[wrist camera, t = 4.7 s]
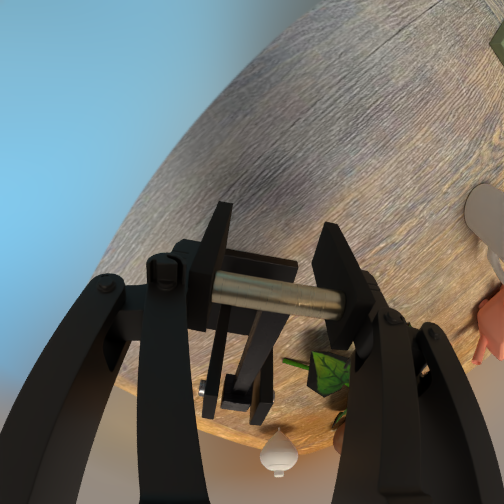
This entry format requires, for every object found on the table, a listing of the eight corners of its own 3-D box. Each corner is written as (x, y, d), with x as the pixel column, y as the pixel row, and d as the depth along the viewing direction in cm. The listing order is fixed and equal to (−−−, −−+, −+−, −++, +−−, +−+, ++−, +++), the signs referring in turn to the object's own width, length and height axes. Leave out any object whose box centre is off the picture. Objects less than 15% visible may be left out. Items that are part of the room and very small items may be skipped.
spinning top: (266, 434, 53) (265, 480, 42) (256, 422, 49) (254, 473, 39) (299, 430, 51) (301, 477, 41) (293, 418, 48) (294, 471, 37)
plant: (397, 281, 30) (422, 325, 23) (423, 375, 41) (435, 407, 34) (265, 343, 35) (265, 391, 29) (336, 412, 46) (341, 445, 40)
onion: (348, 404, 50) (358, 431, 40) (378, 416, 49) (390, 442, 39) (321, 432, 51) (326, 461, 41) (352, 443, 50) (359, 470, 40)
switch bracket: (211, 246, 28) (174, 363, 16) (297, 261, 29) (315, 382, 16) (203, 321, 34) (179, 426, 21) (273, 332, 34) (274, 439, 22)
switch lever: (219, 252, 11) (207, 303, 9) (342, 273, 11) (349, 323, 9) (207, 380, 22) (203, 405, 20) (264, 388, 22) (262, 413, 20)
